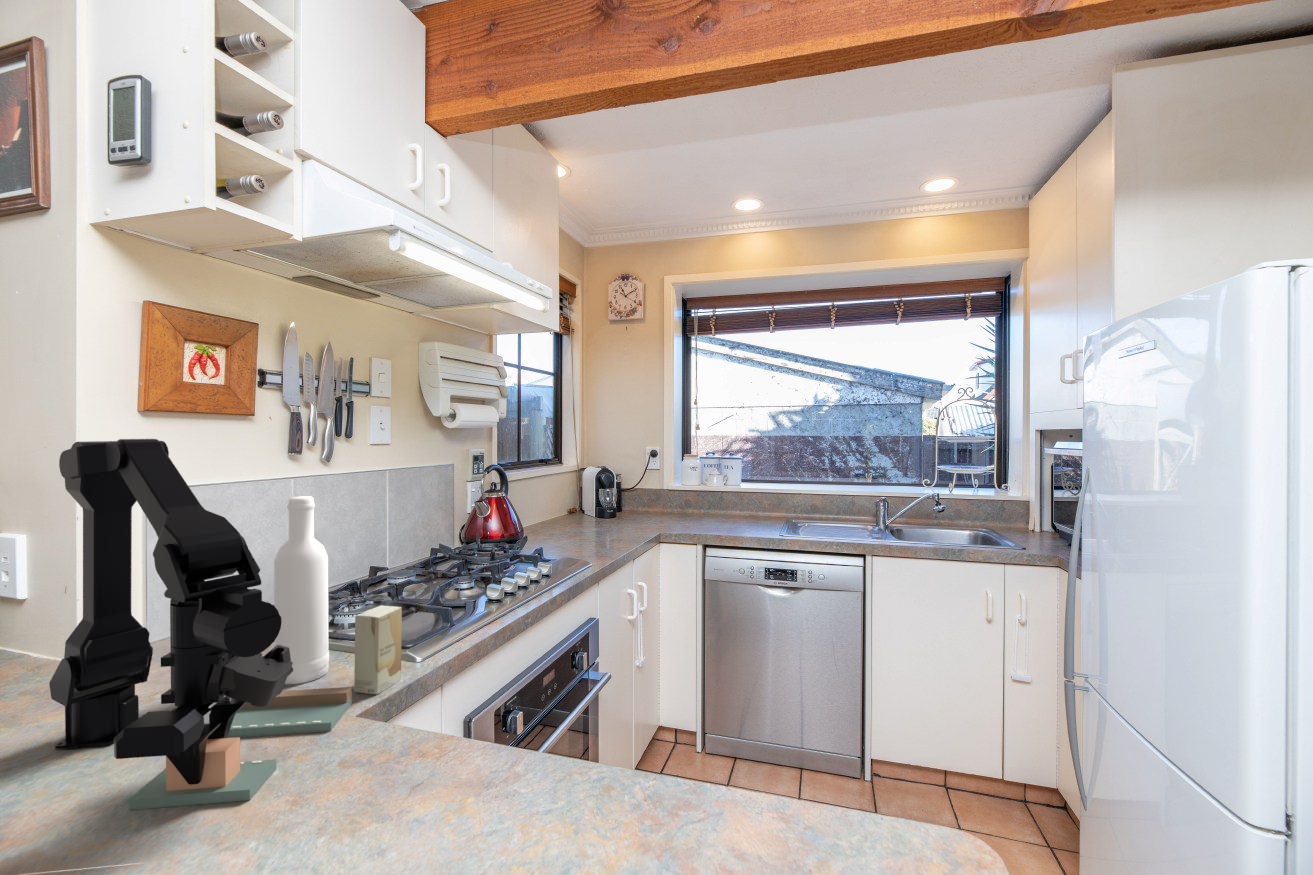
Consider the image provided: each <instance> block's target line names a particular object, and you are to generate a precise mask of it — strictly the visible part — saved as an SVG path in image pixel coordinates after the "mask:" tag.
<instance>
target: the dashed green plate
mask: <svg viewBox="0 0 1313 875" xmlns="http://www.w3.org/2000/svg"><path fill="white" fill-rule="evenodd" d="M352 692H353V687H352V686H343V687H342V686H341V687H327V688H326V687H325V688H309V689H293V690H292V689H289V690H282V692H281V693H280V694H279V695H277V696H276V697H275V698H274V699H273V700H272V701H271V703H270V704H268V705H267V706H264V707H256V706H252V705H251V704H250V703H248V702H246V703H245V704H244V705H243V706H242V707H241V708H240V709H239V710H238V711H237V712H236V714H235V716H234V719H233V722H232V725H231V727H230V730H229V734H228V737H227V738H237V737H240V738H245V737H260V736H261V737H262V736H274V735H275V736H277V735H289V734H303V733H320V732H331V731H333V729H334V728H335V727H336V725H337V724H339V721H340V720H341V719H342V718H343V716H344V715H345V713H346V712H348V709H349V708H350V707H351V706H352V705H353V694H352Z"/></svg>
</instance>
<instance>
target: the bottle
mask: <svg viewBox="0 0 1313 875" xmlns="http://www.w3.org/2000/svg"><path fill="white" fill-rule="evenodd" d="M315 508H316V504H315V498H314V497H313V496H310V495H306V496H302V495H301V496H300V495H299V496H292V497H289V498H288V503H287V510H288V540H287V541H285V543H284V544H283V545H282V546H280V547H279V548H278V550H277V552H276V555H275V558H274V561H273V606H275V608H276V609H277V610H278V612H279V615H280V616H281V620H282V623H281V629H280V631H279V634H278V636H277V638H276V639H275V641H274V642H273V643H274V644H273V645H274V646H273V648H274V647H276V646H277V645H281V646H285V647H288V648H289V650H290V657H291V662H293V664H292V667H293V672H292V673H291V674H290V675H289V676H288V677H287V679H286V681H285V684H284V685H286V686H287V685H288V686H289V685H299V684H304V683H309V682H312V681H315V680H318V679H320V678H322V677H323V676H325V675H327V673H328V671H329V666H330V665H329V663H330V651H329V556H328V552H327V551H326V548H325V546H324V544H322V543H321V542H320V541H318V540H317V539H316V538H315Z"/></svg>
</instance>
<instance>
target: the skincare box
mask: <svg viewBox="0 0 1313 875" xmlns="http://www.w3.org/2000/svg"><path fill="white" fill-rule="evenodd" d="M402 609H403V607H401V606H391V605H381V604H380V605H378V606H376V607H374V608H371V609H368V610H366V611H364V612H361V613H360V614H356V615H355V617H354V618H355V619H354V621H355V622H354V624H355V625H354V678H353V679H354V682H353V686H354V690H353V692H354V693H359V694H366V695H368V694H369V695H379V694H381V693H382V692H384V691H385V690H387V689H389V688H390V687H392V686H393V685H395V684H396V683H398V682H400V681H401V680H402V625H403V624H402V621H403V618H402V615H403V614H402V613H403V612H402Z"/></svg>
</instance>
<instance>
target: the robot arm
mask: <svg viewBox="0 0 1313 875" xmlns="http://www.w3.org/2000/svg"><path fill="white" fill-rule="evenodd" d="M169 453H170V452H169V447H168V445H167V443H166V442H165V441H163V440H159V439H157V438H120V439H117V440H113V441H112V440H110V441H109V440H106V441H102V440H100V441H97V440H95V441H75V442H74V443H73V444H72V445H71V447H70V448H69V449H65V450H63V451H62V452H61V453H60V456H59V459H58V462H59V463H58V467H59V472H60V475H61V476H62V478H63V479H64V486H65V490H66V492H68V494H69V495H70V496H71V497H72V498H73V500H75V502H76V503H77V504H78V505H79V506H80V507H81V508H82V619H81V620H80V621H79V623H78V625H77V626H76V627H75V628H74V630H73V631H72V632H71V634H70V635H69V636H68V638H67V639H66V640H65V643H64V644H65V646H64V654H63V655H64V656H63V657H64V658H62V659H61V660H60V662H59V663H58V665H57V667H56V670H55V671H54V673H53V675H52V676H51V679H50V681H49V682H48V683H49V684H48V685H49V692H50V697H51V700H53V701H54V702H57V703H59V704H60V705H63V706H64V728H65V729H64V732H65V733H64V734H65V737H64V738H63V739H62V740H60V741H59V742H57V743H56V744H55V745H54V750H62V749H63V750H65V749H78V748H80V749H81V748H93V747H94V748H95V747H108V746H110V745H111V746H112V745H113V747H114V748H113V749H114V750H113V752H114V753H113V754H114V755H113V757H114V758H115V760H121V759H134V758H147V757H148V758H149V757H150V758H151V757H153V758H154V757H166V756H167V757H168V759H169V760H170V761H171V762H172V764H173V765H174V766H175V767H176V769H177V770H178V771H179V773H180V774H181V775H182V777H183V778H184V779H185V780H186V782H187V783H188V784H190V785H193V784H199V783H200V782H201V779H202V774H203V769H204V761H205V753H206V744H207V739H222V738H227V737H228V734H229V730H230V727H231V725H232V722H233V719H234V716H235V714H236V712H237V711H238V710H239V709H240V708H241V707H242V706H243V705H244V704H245V703H246V702H248V703H250V704H251V705H252V706H256V707H264V706H267V705H268V704H270V703H271V701H272V700H273V699H274V698H275V697H276V696H277V695H279V694H280V693H281V692H282V691H283V688H284V686H285V685H286V684H285V681H286V679H287V677H288V676H289V675H290V674H291V673H292V672H293V667H292V664H293V662H291V657H290V650H289V648H288V647H285V646H281V645H277V646H276V647H274V646H273V648H271V649H270V650H269V651H268V652H267V653H266V654H264V655H263V652H265V651H266V650H267V649H268V648H270V646H271V645H273V643H274V641H275V639H276V638H277V636H278V634H279V631H280V629H281V623H282V620H281V616H280V615H279V612H278V610H277V609H276V608H275V606H274V604H272V603H270V602H268V601H264V600H263V592H262V590H261V589H259V588H253V587H258V586H261V585H262V579H261V576H260V571H261V568H260V566H259V565H258V563H257V561H256V559H255V558H254V556H253V554H252V552H251V551H250V549H249V547H248V544H247V542H246V540H245V538H244V536H242V535H241V533H240V532H239V531H238V529H237V528H236V527H235V526H234V525H233V524H232V523H231V522H230V521H229V520H228V519H227V518H226V517H224V516H222V515H219V514H216V513H215V512H212V511H210V510H207V509H205V507H204V506H203V505H202V504H201V503H200V501H199V500H198V498H197V497H196V495H195V493H194V492H193V491H192V489H191V487H190V486H189V485H188V483H187V481H186V480H185V479H184V478H183V476H182V475H181V473H180V471H179V469H178V468H177V466H176V465H175V464H174V462H173V461H172V459H171V458H170V457H169V456H170V455H169ZM136 503H138V505H139V507H140V508H141V510H142V512H143V513H144V515H145V517H146V518H147V519H148V521H149V523H150V525H151V526H152V528H153V530H154V531H155V533H156V534H155V535H156V536H157V538H158V539H157V541H156V544H155V546H154V549H153V551H152V556H153V559H154V561H153V562H154V567H155V571H156V573H157V575H158V577H159V578H160V579H161V581H162V584H164V585H165V587H166V589H165V591H164V593H163V595H164V596H163V597H164V598H167V599H170V600H169V602H170V604H169V618H170V619H169V620H170V623H169V624H170V625H169V626H170V627H169V631H170V632H169V633H170V634H169V636H170V640H169V642H170V652H168V653H166V654H165V655H163V656H162V657H160V667H162V668H163V667H164V668H165V667H170V689H168V690H166V691H165V692H163V693H162V694H161V695H160V704H161V705H166V704H167V705H168V704H174V708H172V709H171V710H158V711H148V712H146V713H144V714H143V715H141V716H139V715H140V714H139V712H140V711H139V708H140V707H139V695H138V694H136V685H137V684H143V683H146V682H148V678H149V674H150V671H151V670H150V669H151V665H152V659H153V658H152V657H153V654H154V653H153V652H154V648H153V646H152V645H151V642H150V631H149V630H148V629H147V627H146V626H145V627H144V626H143V625H142V624H141V623H140V622H139V621H138V620H137V619H136V618H135V617H134V616H133V615H132V553H133V552H132V546H133V545H132V543H133V542H132V536H133V535H132V529H133V528H132V522H133V521H132V520H133V519H132V518H133V517H132V515H133V514H132V512H133V511H132V510H133V506H135V504H136ZM235 573H238V574H235ZM251 588H252V589H251Z"/></svg>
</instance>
